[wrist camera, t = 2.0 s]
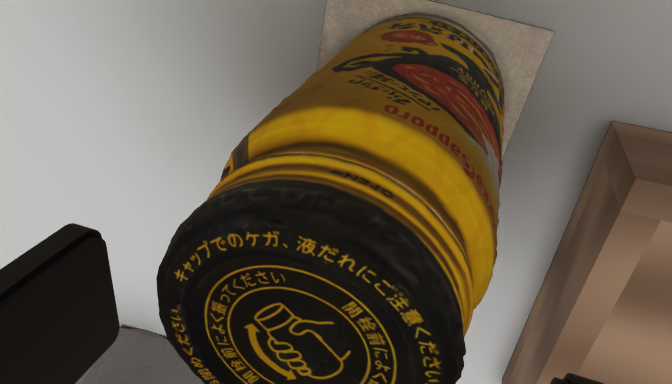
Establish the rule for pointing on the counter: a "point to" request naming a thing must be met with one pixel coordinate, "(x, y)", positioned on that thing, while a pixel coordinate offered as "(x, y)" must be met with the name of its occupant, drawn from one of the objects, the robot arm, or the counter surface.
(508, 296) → the counter surface
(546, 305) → the caddy
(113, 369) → the coffeepot
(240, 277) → the condiment
